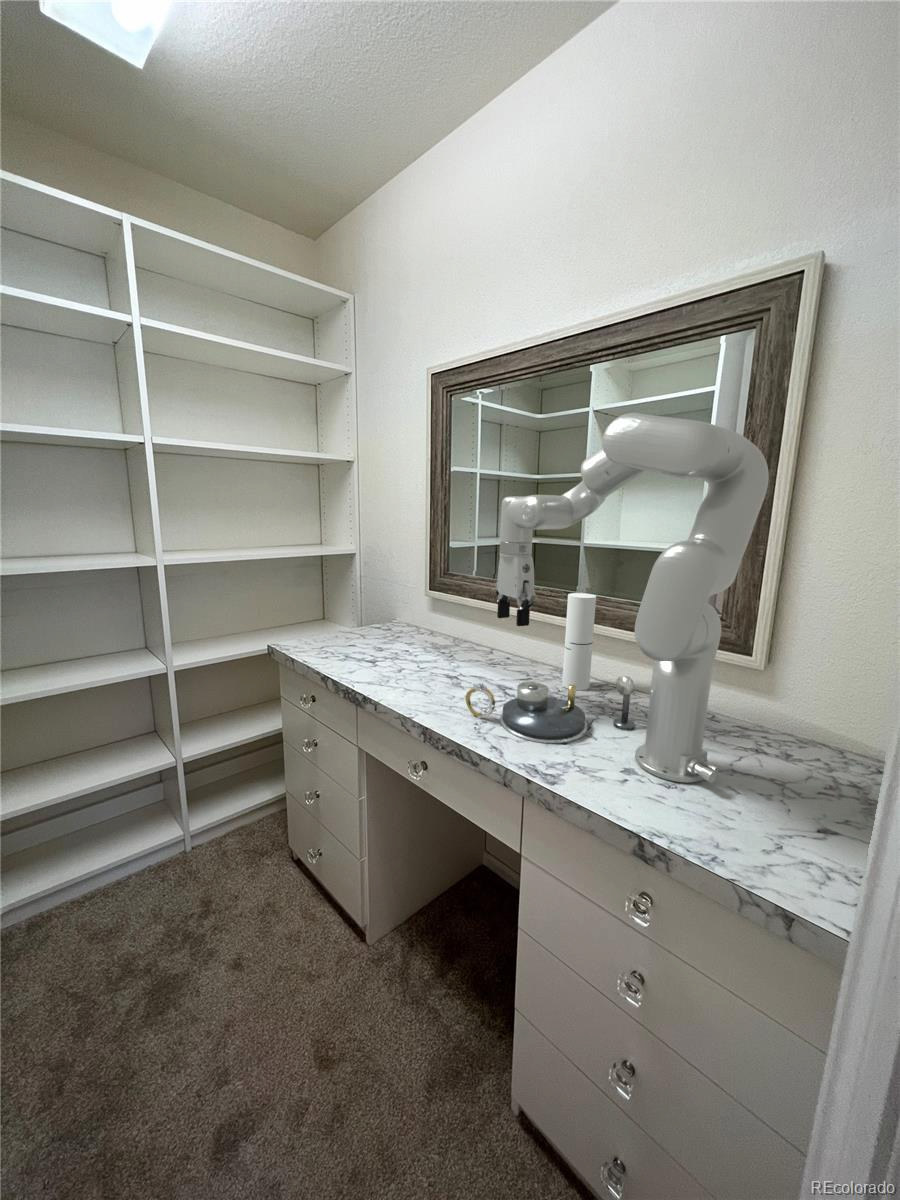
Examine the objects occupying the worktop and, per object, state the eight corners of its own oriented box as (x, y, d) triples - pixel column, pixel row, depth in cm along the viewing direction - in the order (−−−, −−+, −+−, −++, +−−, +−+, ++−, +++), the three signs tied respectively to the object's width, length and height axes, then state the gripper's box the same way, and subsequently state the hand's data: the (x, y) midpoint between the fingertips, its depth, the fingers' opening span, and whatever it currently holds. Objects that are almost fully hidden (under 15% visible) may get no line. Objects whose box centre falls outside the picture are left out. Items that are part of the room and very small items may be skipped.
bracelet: (463, 715, 108) (463, 682, 106) (471, 711, 110) (472, 678, 109) (488, 724, 103) (489, 690, 102) (496, 719, 106) (497, 686, 105)
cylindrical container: (583, 692, 123) (590, 598, 118) (557, 686, 127) (563, 595, 123) (593, 684, 129) (600, 595, 124) (568, 679, 133) (574, 592, 128)
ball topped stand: (639, 728, 103) (643, 678, 101) (623, 731, 101) (628, 681, 99) (624, 720, 107) (628, 672, 105) (609, 723, 105) (613, 674, 103)
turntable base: (605, 733, 100) (606, 732, 100) (530, 750, 92) (530, 748, 92) (552, 701, 117) (552, 699, 117) (485, 712, 109) (485, 711, 109)
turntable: (602, 730, 100) (605, 699, 99) (531, 745, 93) (533, 712, 92) (551, 699, 116) (553, 672, 115) (488, 710, 109) (489, 682, 108)
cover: (553, 707, 106) (554, 689, 106) (527, 712, 104) (528, 693, 103) (536, 696, 113) (536, 679, 112) (511, 700, 110) (511, 683, 109)
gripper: (550, 552, 105) (546, 628, 108) (510, 546, 120) (507, 613, 123) (522, 553, 102) (518, 631, 105) (484, 547, 117) (482, 615, 120)
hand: (512, 621), depth 114 cm, fingers open, 8 cm apart
